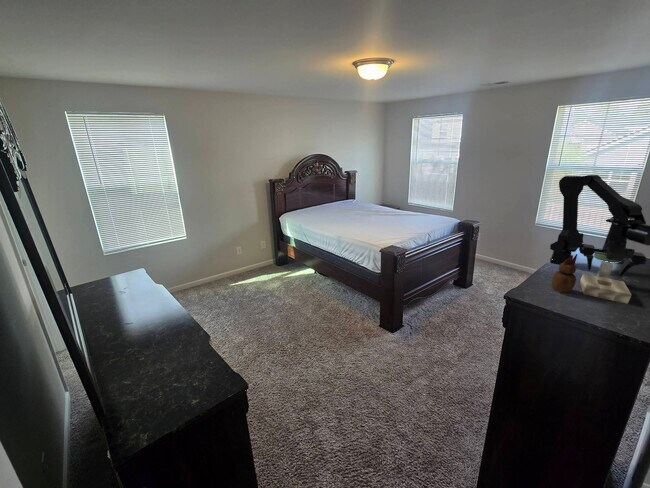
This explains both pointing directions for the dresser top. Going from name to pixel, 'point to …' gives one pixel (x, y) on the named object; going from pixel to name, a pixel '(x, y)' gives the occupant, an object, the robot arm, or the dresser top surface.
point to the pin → (605, 269)
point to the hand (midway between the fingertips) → (603, 273)
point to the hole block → (605, 288)
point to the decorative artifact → (603, 257)
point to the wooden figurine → (565, 276)
